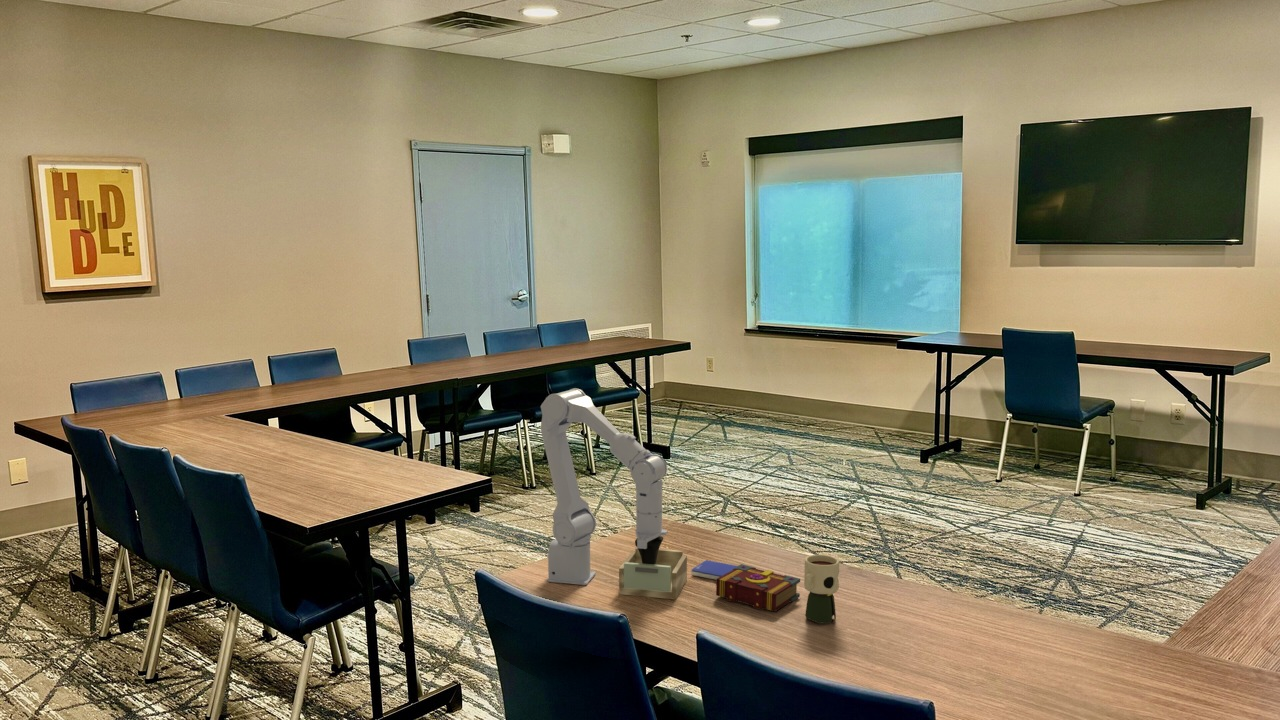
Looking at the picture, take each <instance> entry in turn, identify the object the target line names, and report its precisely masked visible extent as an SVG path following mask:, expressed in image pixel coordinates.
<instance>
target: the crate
mask: <svg viewBox="0 0 1280 720" xmlns="http://www.w3.org/2000/svg"><path fill="white" fill-rule="evenodd" d="M634 549H635V550H632V551H631V552H630V553H629V554H628V556H627V557H626V558H625V560H624V561H623V563H622V564H621V565H620V566H619V568H618V592H619V593H618V594H619V595H624V596H625V595H627V596H635V597H636V596H637V597H647V598H656V599H657V598H659V599H668V600H669V599H670V600H677V599H678V597H679V595H680V594H681V591H682V589H683V588H684V586H685V584H686V582H687V580H688V576H687V575H688V573H687V572H688V564H687V563H688V554H683V552H684V551H683V550H678V549H668V548H667V549H664V548H659V551H658V555H657V560H656V565H666V566H671V591H670V592H665V591H654V590H642V589H631V588H624V563H625V562H630V563H642V559H641V555H640V553H639V550H638V548H637V547H636V546H635V548H634Z"/></svg>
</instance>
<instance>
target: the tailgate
mask: <svg viewBox="0 0 1280 720" xmlns="http://www.w3.org/2000/svg"><path fill="white" fill-rule="evenodd" d="M624 588H631V589H642V590H654V591H665V592H670V591H671V566H666V565H654V564H642V563H630V562H625V563H624Z"/></svg>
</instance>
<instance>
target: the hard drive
mask: <svg viewBox="0 0 1280 720" xmlns="http://www.w3.org/2000/svg"><path fill="white" fill-rule="evenodd" d="M737 566H738V565H733V564H731V563H730V564H729V563H723V562H718V561H713V560H708V559H706V560H704V561H702V562H701V563H699V564H698V565H696V566H694V567H693V568H692V569H691V576H695V577H701V578H704V579H705V578H706V579H711V580H716V579H717V578H719V577H721V576H723V575H724V574H726V573H728V572H730V571H732V570H733V568H735V567H737Z"/></svg>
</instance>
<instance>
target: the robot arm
mask: <svg viewBox="0 0 1280 720" xmlns="http://www.w3.org/2000/svg"><path fill="white" fill-rule="evenodd" d="M540 410H541V415H542V416H541V423H540V434H541V436H542V442H543V446H544V450H545V455H546V458H547V464H548V466H549V467H548V468H549V472H550V476H551V480H552V484H553V489H554V493H555V498H556V501H557V502H556V503H557V504H556V506H555V509H554V510H553V513H552V519H553V523H552V524H553V525H552V534H553V535H552V536H553V537H554V538H555V539H553V540H551V542H550V544H549V547H548V550H547V551H548V553H547V558H548V559H547V561H548V562H547V563H548V564H547V565H548V567H547V568H548V569H547V572H548V575H547V576H548V578H547V582H548V583H559V584H568V585H569V584H570V585H581V586H586V585H588V584H589V583H590V581H591V580H593V578H594V577H595V576H596V573H597V572H596V571H593V570H591V539H592V534H593V533H594V531H595V530H596V527H597V521H596V517H595V515H594V513H593V512H592V510H591V507H590V505H589V503H588V502H587V501H586V500H584V499H583V498H582V497H581V493H580V489H579V485H578V480H577V476H576V471H575V467H574V462H573V458H572V453H571V449H570V446H569V445H570V444H569V441H568V437H567V432H568V430H569V428H570V427H571V425H572V423H583V424H584V425H585V426H587V427H588V428H589V429H590V430H591V431H593V432H594V433H595V434H597V436H599V437H600V438H601V439H603V440H604V441H605V442H607V444H609V452H610V453H611V454H612V455H613V456H614V457H615V458H616V459H617V460H619V461H620V462H621V464H623V465H624V466H625V467H626V469H628V470H629V471H630V476H631V478H632V481H633V482H634V484H635V491H636V492H635V498H636V499H635V501H636V506H635V507H636V508H635V510H636V512H635V515H636V517H635V519H636V521H635V524H636V525H635V527H636V528H635V530H634V531H635V536H636V538H635V540H634V544H635V548H636V547H637V548H638V550H639V553H640V555H641V559H642V564H654V565H656V560H657V555H658V551H659V549H661V545H662V542H664V536H666V535H668V529H663V479H664V477H665V476H666V475H667V471H668V468H667V467H668V466H667V463H666V461H665V460H664V459H663V457H662V455H660V454H658V453H651V451H650V450H649V449H646V448H645V447H644V446H643V445H642V444H641V443H639V442H638V441H637V440H636V439H637V436H635V435H634V434H629V433H628V432H620V431H619V430H618V429H617V428H616V427H615V426H614V425H613V424H612V423H611V422H610V420H608V419H607V417H606V416H605V415H604V414H603V413H602V412H601V411H600V410H599V409H598V408H597V407H596V406H595V405H594V403H593V400H592V398H591V397H590V396H589V395H586V393H585V392H584V391H583V389H579V388H576V387H574V388H570V389H569V390H565V391H561V392H558V393H551V394H549V395H548V396H546V397H545V399H544V401H543V402H542V403H541V405H540Z"/></svg>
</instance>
